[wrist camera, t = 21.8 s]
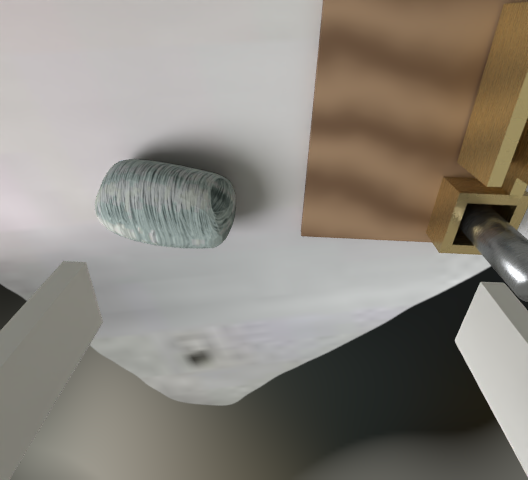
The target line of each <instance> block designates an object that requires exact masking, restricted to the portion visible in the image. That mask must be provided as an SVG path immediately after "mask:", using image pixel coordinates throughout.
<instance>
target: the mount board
mask: <svg viewBox="0 0 528 480" xmlns="http://www.w3.org/2000/svg"><path fill="white" fill-rule="evenodd" d="M522 2H528V0H323V8H322V18H321V28H320V39H319V49H318V59H317V70H316V80H315V91H314V101H313V111H312V122H311V132H310V143H309V153H308V163H307V174H306V184H305V194H304V205H303V215H302V226H301V236H309V237H330V238H352V239H373V240H394V241H415V242H432V241H431V240H430V238H429V237H428V235H427V234H426V230H427V227H428V224H429V221H430V217H431V214H432V211H433V208H434V204H435V201H436V198H437V195H438V192H439V188H440V185H441V182H442V179H443V177H462V178H475V177H474V176H473V175H472V174H471V173H469V172H468V171H467V170H466V169H464V168H463V167H462V166H461V165H459V164H458V163H457V161H458V157H459V154H460V151H461V147H462V144H463V140H464V137H465V134H466V130H467V127H468V123H469V120H470V117H471V113H472V110H473V107H474V103H475V100H476V96H477V93H478V90H479V86H480V83H481V79H482V76H483V73H484V69H485V66H486V63H487V59H488V56H489V52H490V49H491V46H492V42H493V39H494V35H495V32H496V29H497V25H498V22H499V19H500V15H501V12H502V8H503V5H504V4H509V3H522ZM488 205H489V204H488Z"/></svg>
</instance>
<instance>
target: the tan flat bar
mask: <svg viewBox="0 0 528 480" xmlns="http://www.w3.org/2000/svg"><path fill="white" fill-rule="evenodd" d="M527 118H528V2H522V3H509V4H504V5H503V8H502V12H501V15H500V19H499V22H498V25H497V29H496V32H495V35H494V39H493V42H492V46H491V49H490V52H489V56H488V59H487V63H486V66H485V69H484V73H483V76H482V79H481V83H480V86H479V90H478V93H477V96H476V100H475V103H474V107H473V110H472V113H471V117H470V120H469V123H468V127H467V130H466V134H465V137H464V140H463V144H462V147H461V151H460V154H459V157H458V161H457V163H458V164H459V165H461V166H462V167H463V168H464V169H466V170H467V171H468V172H469V173H471V174H472V175H473V176H474V177H475V178H477V179H478V180H479V181H480V182H482V183H483V184H484V185H485V186H486V187H502V184H503V181H504V179H505V176H506V174H507V171H508V168H509V166H510V163H511V160H512V158H513V155H514V152H515V150H516V147H517V144H518V142H519V139H520V136H521V134H522V131H523V128H524V126H525V123H526V120H527Z"/></svg>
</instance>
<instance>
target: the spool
mask: <svg viewBox="0 0 528 480" xmlns="http://www.w3.org/2000/svg"><path fill="white" fill-rule="evenodd" d="M235 210H236V196H235V192H234V189H233V187H232V184H231V183H230V181H229V180H227V179H226V178H224V177H222V176H220V175H218V174H216V173H212V172H207V171H203V170H199V169H194V168H189V167H184V166H180V165H174V164H169V163H164V162H157V161H148V160H138V159H129V160H124V161H119V162H118V163H116V164H114V166H113V167H112V168H111V169H110V170H109V171H108V173H107V175H106V176H105V177H104V180H103V182H102V184H101V187H100V189H99V192H98V194H97V196H96V200H95V211H96V215H97V217H98V219H99V221H100V223H101V224H102V225H103V226H105V227H106V228H107V229H108V230H110V231H112V232H113V233H115V234H117V235H119V236H122V237H125V238H128V239H131V240H134V241H138V242H143V243H147V244H152V245H158V246H166V247H178V248H214V247H217V246H218V245H220V244H221V243H222V242H223V241H224V240H225V239H226V237H227V236H228V234H229V231H230V229H231V227H232V224H233V221H234V216H235Z"/></svg>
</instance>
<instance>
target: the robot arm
mask: <svg viewBox="0 0 528 480" xmlns="http://www.w3.org/2000/svg"><path fill="white" fill-rule="evenodd" d="M102 323H103V320H102V317H101V313H100V310H99V306H98V303H97V299H96V296H95V292H94V289H93V285H92V282H91V278H90V275H89V271H88V268H87V264H86V262H68V261H63V262H62V263H61V265H60V266H59V267H58V268H57V269H56V270H55V271H54V272H53V273H52V274H51V276H50V277H49V278H48V279H47V280H46V281H45V282H44V283H43V284H42V285H41V287H40V288H39V289H38V290H37V291H36V292H35V293H34V294H33V295H32V296H31V298H30V299H29V300H28V301H27V302H26V303H25V304H24V305H23V306H22V307H21V309H20V310H19V311H18V312H17V313H16V314H15V315H14V316H13V317H12V319H11V320H10V321H9V322H8V323H7V324H6V325H5V326H4V327H3V328H2V330H1V331H0V480H9V479H10V478H11V476H12V474H13V473H14V471H15V469H16V468H17V466H18V464H19V462H20V461H21V459H22V458H23V456H24V454H25V452H26V451H27V449H28V447H29V446H30V444H31V442H32V441H33V439H34V437H35V436H36V434H37V432H38V431H39V429H40V427H41V426H42V424H43V422H44V420H45V419H46V417H47V416H48V414H49V412H50V411H51V409H52V407H53V405H54V404H55V402H56V400H57V399H58V397H59V395H60V393H61V392H62V390H63V389H64V387H65V385H66V384H67V382H68V380H69V378H70V376H71V375H72V373H73V372H74V370H75V368H76V367H77V365H78V363H79V362H80V360H81V358H82V357H83V355H84V353H85V352H86V350H87V348H88V346H89V345H90V343H91V341H92V340H93V338H94V336H95V335H96V333H97V331H98V330H99V328H100V326H101V325H102ZM455 342H456V344H457V346H458V348H459V350H460V352H461V353H462V355H463V357H464V359H465V361H466V363H467V365H468V367H469V368H470V370H471V372H472V374H473V376H474V378H475V380H476V381H477V383H478V385H479V387H480V389H481V391H482V393H483V394H484V396H485V398H486V400H487V402H488V404H489V406H490V407H491V409H492V411H493V413H494V415H495V417H496V419H497V421H498V422H499V424H500V426H501V428H502V430H503V432H504V434H505V435H506V437H507V439H508V441H509V443H510V445H511V447H512V448H513V450H514V452H515V454H516V456H517V458H518V460H519V462H520V463H521V465H522V467H523V469H524V471H525V473H526V474H527V476H528V311H527V309H526V308H525V307H524V306H523V305H522V303H521V302H520V301H519V300H518V299H517V298H516V297H515V295H514V294H513V293H512V292H511V290H510V289H509V288H508V287H507V286H506V285H505V283H494V282H480V284H479V287H478V289H477V291H476V293H475V296H474V298H473V300H472V303H471V305H470V307H469V309H468V311H467V314H466V316H465V318H464V321H463V323H462V325H461V327H460V330H459V332H458V334H457V336H456V339H455Z"/></svg>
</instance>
